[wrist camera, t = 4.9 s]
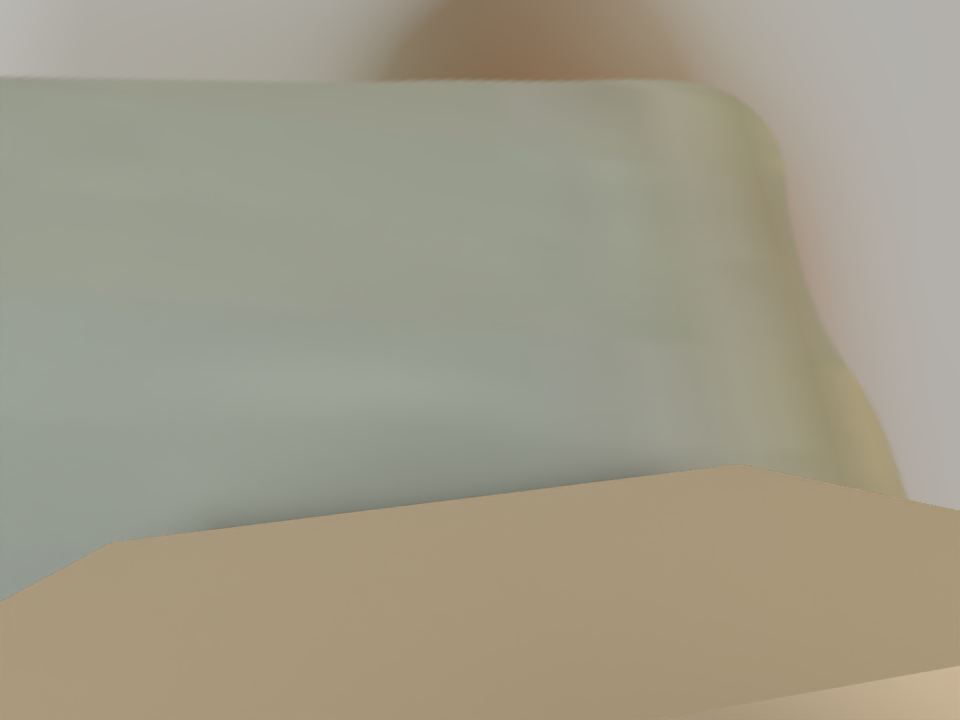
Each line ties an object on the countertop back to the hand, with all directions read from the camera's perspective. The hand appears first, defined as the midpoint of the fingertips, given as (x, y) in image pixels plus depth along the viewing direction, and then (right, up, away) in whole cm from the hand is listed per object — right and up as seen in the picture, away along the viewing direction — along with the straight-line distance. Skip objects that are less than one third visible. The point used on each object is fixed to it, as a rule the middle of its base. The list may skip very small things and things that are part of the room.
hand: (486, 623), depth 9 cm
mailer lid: (0, 0, +1) cm, 1 cm away
